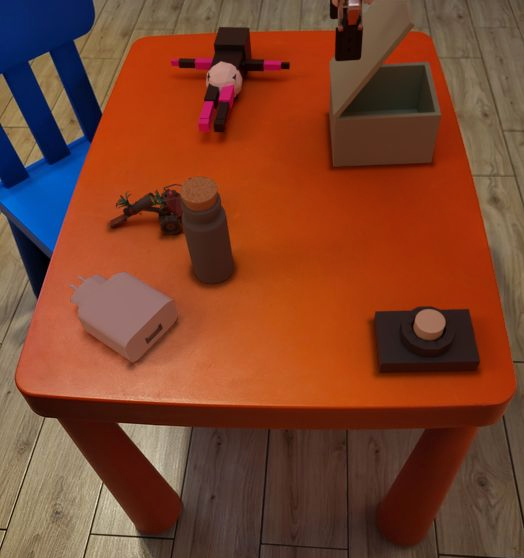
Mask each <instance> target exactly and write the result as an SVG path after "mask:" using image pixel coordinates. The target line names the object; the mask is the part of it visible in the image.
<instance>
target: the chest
mask: <svg viewBox="0 0 524 558" xmlns="http://www.w3.org/2000/svg"><path fill="white" fill-rule="evenodd" d="M329 80H330V81H329V103H328V105H329V107H328V108H329V109H328V117H329V118H328V119H329V130H330V131H329V132H330V142H331V144H330V145H331V156H332V167H336V168H337V167H358V166H359V167H361V166H381V165H382V166H384V165H387V166H388V165H408V164H409V165H410V164H431V163H432V161H433V156H434V153H435V152H434V151H435V147H436V142H437V138H438V132H439V128H440V124H441V119H442V112H441V107H440V104H439V99H438V94H437V90H436V85H435V82H434V77H433V73H432V69H431V65H430V61H417V62H416V61H415V62H413V61H412V62H394V63H393V62H392V63H383V64H382V66H381V67H380V68H379V69H378V70H377V72H376V73H375V74H374V75H373V76H372V78H371V79H370V80H369V81H368V82H367V84H366V85H365V86H364V87H363V88H362V89H361V91H360V92H359V93H358V94H357V95H356V97H355V98H354V99H353V100H352V101H351V103H350V104H349V105H348V106H347V107H346V109H345V110H344V111H343V112H342V113H341V115H340V116H339V117H338V118H336V117H335V116H333V104H332V91H331V79H329Z"/></svg>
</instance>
